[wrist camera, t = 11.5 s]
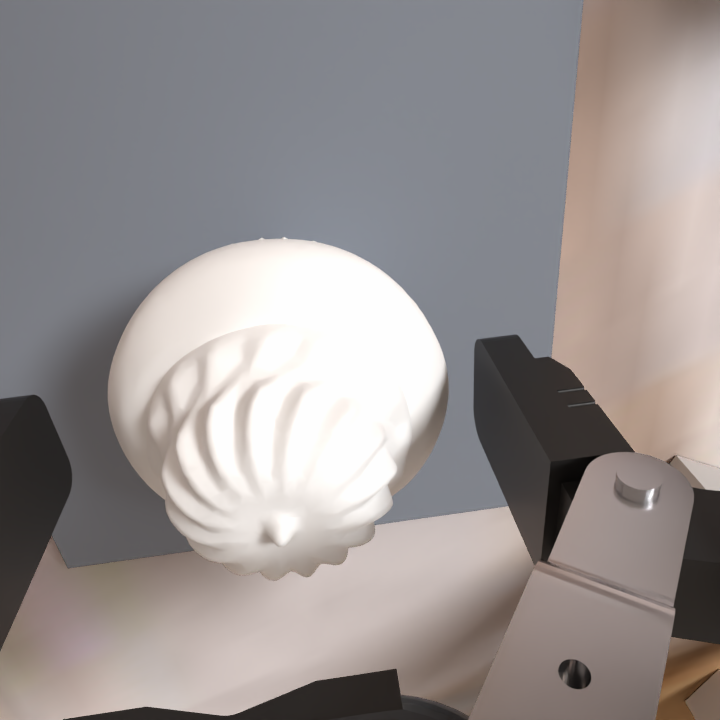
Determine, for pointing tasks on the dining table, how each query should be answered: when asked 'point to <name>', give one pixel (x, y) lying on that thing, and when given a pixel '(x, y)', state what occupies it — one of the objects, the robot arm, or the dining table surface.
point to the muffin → (277, 401)
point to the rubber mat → (273, 195)
